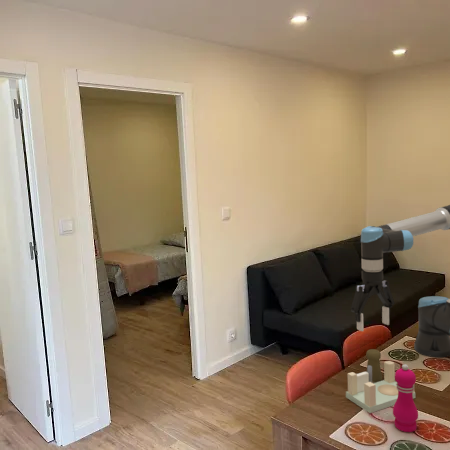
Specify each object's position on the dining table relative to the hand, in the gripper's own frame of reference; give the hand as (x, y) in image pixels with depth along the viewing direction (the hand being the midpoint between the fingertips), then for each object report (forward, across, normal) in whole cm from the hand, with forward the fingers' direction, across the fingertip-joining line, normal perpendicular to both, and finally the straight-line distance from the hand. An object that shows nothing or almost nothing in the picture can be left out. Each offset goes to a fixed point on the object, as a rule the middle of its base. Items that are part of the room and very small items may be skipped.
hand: (373, 326), depth 167 cm
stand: (+20, +8, +12) cm, 25 cm away
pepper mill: (+20, +14, +29) cm, 38 cm away
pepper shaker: (+20, 0, 0) cm, 20 cm away
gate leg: (+18, +14, +8) cm, 24 cm away
